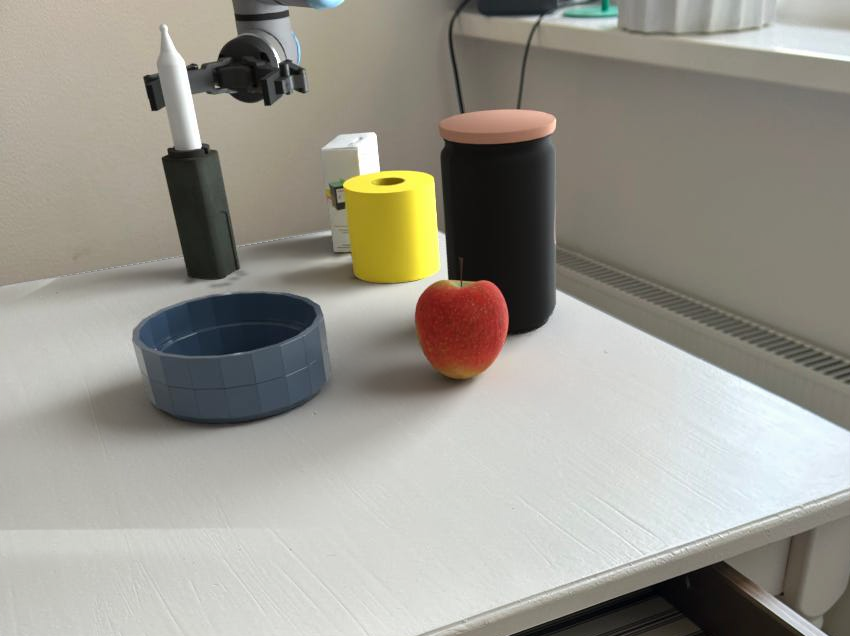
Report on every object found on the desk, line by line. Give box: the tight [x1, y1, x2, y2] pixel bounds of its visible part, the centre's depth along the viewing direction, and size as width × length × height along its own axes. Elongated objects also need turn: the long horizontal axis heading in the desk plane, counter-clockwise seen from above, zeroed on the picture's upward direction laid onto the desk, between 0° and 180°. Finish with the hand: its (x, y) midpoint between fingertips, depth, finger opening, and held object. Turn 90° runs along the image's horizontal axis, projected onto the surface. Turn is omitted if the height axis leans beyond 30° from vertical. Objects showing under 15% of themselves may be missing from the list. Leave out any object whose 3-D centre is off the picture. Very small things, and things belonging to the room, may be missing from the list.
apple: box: [414, 257, 508, 380], centre depth 85 cm, size 8×8×10 cm
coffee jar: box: [437, 108, 557, 336], centre depth 94 cm, size 11×11×18 cm
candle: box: [156, 23, 241, 280], centre depth 108 cm, size 5×5×25 cm
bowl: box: [131, 290, 333, 424], centre depth 86 cm, size 16×16×6 cm
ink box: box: [320, 131, 381, 253], centre depth 119 cm, size 8×5×12 cm, turn 171°
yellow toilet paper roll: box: [343, 170, 441, 284], centre depth 110 cm, size 10×10×9 cm
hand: (208, 95), depth 114 cm, fingers open, 13 cm apart
